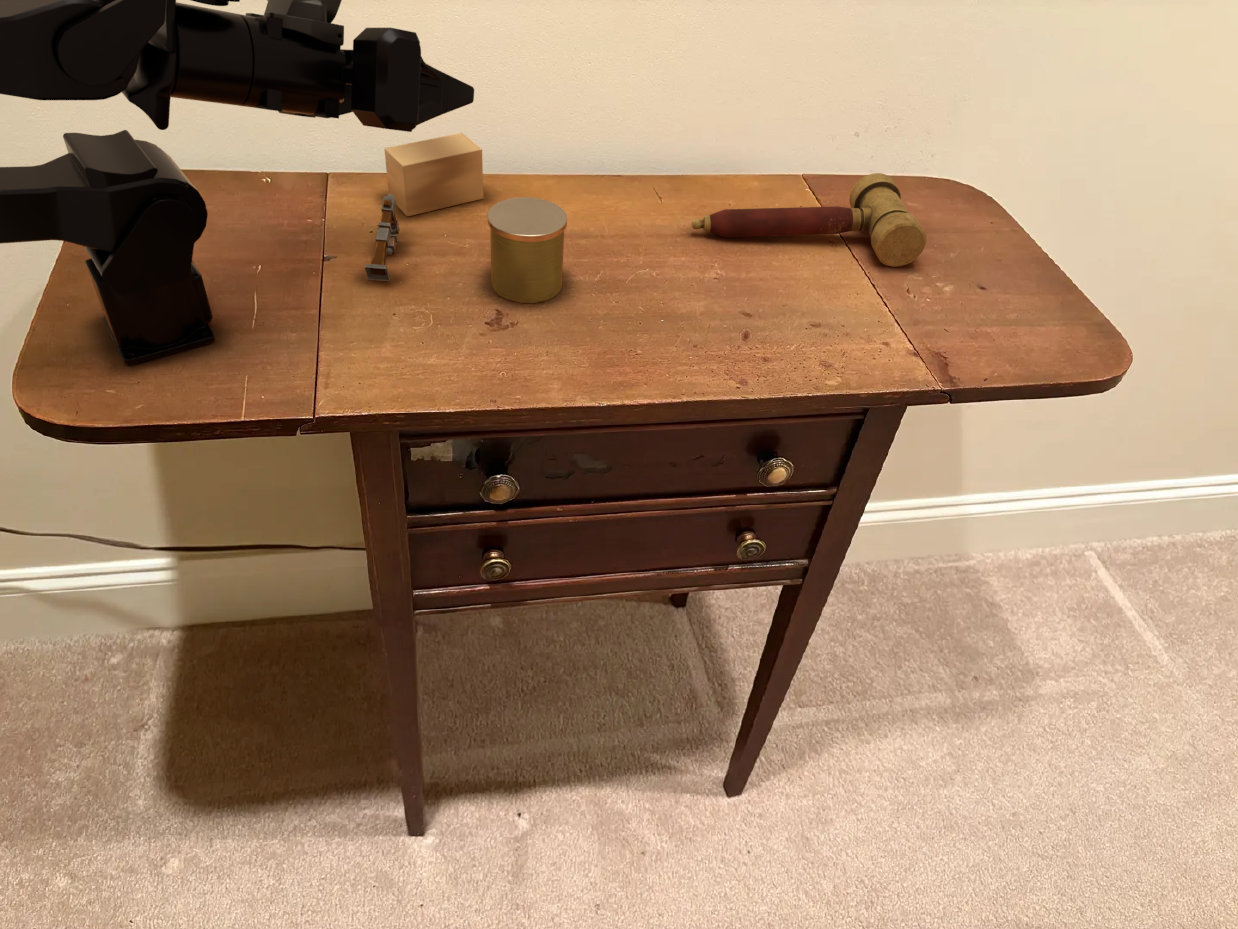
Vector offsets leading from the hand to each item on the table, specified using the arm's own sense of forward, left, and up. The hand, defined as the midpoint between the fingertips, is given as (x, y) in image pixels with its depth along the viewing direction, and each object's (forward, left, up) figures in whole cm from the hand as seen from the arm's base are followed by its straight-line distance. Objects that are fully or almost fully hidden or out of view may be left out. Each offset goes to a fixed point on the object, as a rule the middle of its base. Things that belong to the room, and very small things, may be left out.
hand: (440, 92), depth 72 cm
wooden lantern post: (-6, +1, -14) cm, 15 cm away
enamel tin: (+3, -8, -14) cm, 16 cm away
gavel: (+30, -13, -14) cm, 36 cm away
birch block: (+3, +9, -14) cm, 17 cm away
